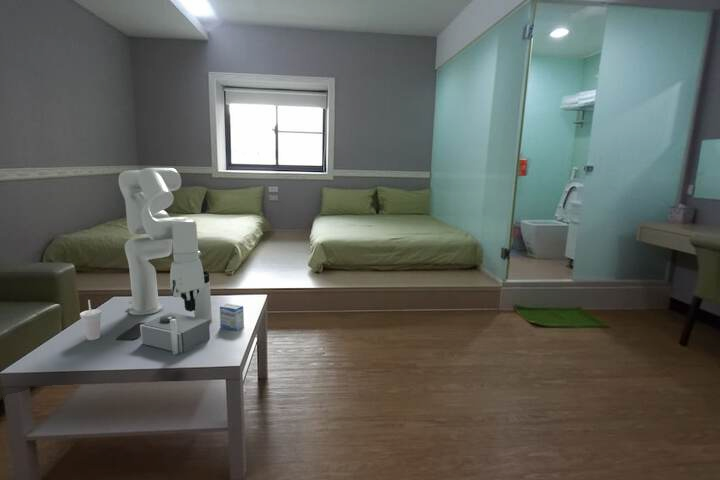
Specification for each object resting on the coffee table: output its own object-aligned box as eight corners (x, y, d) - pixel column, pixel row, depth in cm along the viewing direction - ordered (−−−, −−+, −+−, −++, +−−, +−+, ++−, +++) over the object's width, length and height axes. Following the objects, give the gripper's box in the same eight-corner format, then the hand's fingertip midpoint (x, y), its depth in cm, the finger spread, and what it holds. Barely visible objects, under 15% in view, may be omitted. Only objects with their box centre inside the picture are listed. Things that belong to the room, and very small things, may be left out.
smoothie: (102, 332, 144) (97, 296, 141) (106, 338, 139) (102, 300, 137) (81, 337, 140) (76, 300, 137) (84, 343, 135) (80, 305, 132)
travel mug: (215, 318, 158) (212, 271, 155) (207, 325, 152) (204, 275, 148) (200, 318, 159) (197, 270, 155) (191, 324, 153) (188, 275, 149)
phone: (156, 322, 153) (135, 338, 138) (157, 324, 153) (135, 341, 138) (137, 322, 153) (114, 338, 138) (138, 324, 153) (114, 340, 138)
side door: (136, 345, 133) (133, 313, 131) (143, 342, 136) (140, 310, 134) (176, 355, 127) (173, 321, 125) (182, 351, 130) (180, 318, 127)
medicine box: (220, 328, 150) (218, 306, 148) (227, 323, 154) (226, 302, 152) (237, 331, 147) (236, 309, 146) (244, 326, 151) (243, 305, 150)
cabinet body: (144, 343, 136) (142, 321, 135) (172, 330, 147) (170, 309, 146) (184, 352, 130) (182, 329, 128) (210, 338, 141) (208, 317, 139)
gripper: (198, 252, 136) (202, 302, 139) (158, 260, 124) (162, 314, 127) (212, 254, 133) (216, 305, 136) (172, 262, 120) (177, 319, 123)
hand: (190, 310), depth 131 cm, fingers closed
